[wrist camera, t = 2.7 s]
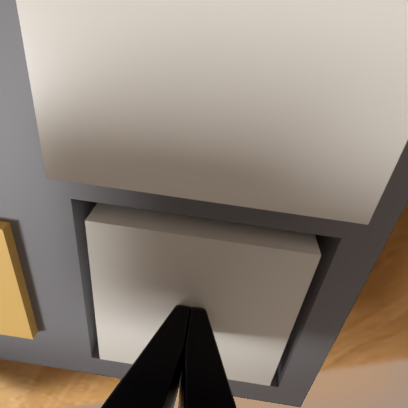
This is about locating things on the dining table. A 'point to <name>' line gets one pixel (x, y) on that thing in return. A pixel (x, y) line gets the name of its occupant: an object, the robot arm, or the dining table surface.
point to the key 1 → (197, 283)
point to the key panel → (91, 195)
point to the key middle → (223, 98)
